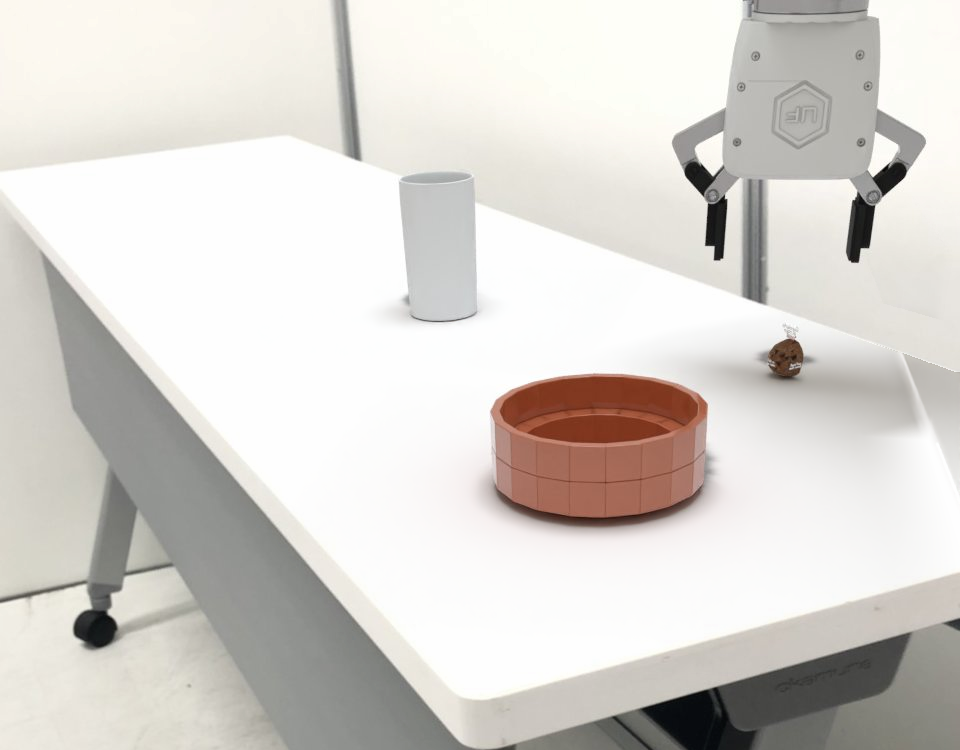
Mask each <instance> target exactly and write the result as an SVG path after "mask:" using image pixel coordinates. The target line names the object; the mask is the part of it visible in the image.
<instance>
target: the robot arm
mask: <svg viewBox="0 0 960 750" xmlns="http://www.w3.org/2000/svg"><path fill="white" fill-rule="evenodd" d="M742 2H748V6H749V5H751V6H752V11H751V17H744V18H742V19H741V21H740V24H739V27H738V31H737V35H736V39H735V44H734V48H733V53H732V59H731V65H730V71H729V79H728V86H727V95H726V104H725V107H724V108H721V109H719V110H718V111H716V112H714V113H713V114H710V115H709V116H707V117H705V118H703V119H701V120H699V121H697V122H695V123H694V124H692V125H690V126H688V127H686V128H685V129H682V130H680V131H679V132H676V134H674V136H673V137H672V140H671V145H672V148H673V150H674V151H673V152H674V153H675V155H676V158H677V160H678V162H679V164H680V166H681V168H682V171H683V173H684V177H685V178H686V179H687V180H688V181H689V182H690V184H691V185H692V186H693V187H694V189H696V190H697V192H698V193H699V194H700V195H701V196H702V198H704V201H705V202H706V203H707V208H706V209H707V210H706V225H705V237H704V239H705V240H704V247H714V248H713V261H715V262H717V261H718V262H719V261H720V262H721V260H724V256H725V243H726V231H727V216H728V215H727V214H728V198H726V194H727V193H728V192H729V191H730V190H731V188H732V187H733V186H734V185H735V184H736V183H737V182H738V180H739V179H744V180H745V179H746V180H773V181H774V180H780V181H782V180H787V181H792V180H793V181H797V180H798V181H833V180H834V181H835V180H836V181H838V180H849V181H850V183H851V184H852V185H853V187H854V188H855V189H856V196H855V197H854V199H852V201H851V206H850V215H849V223H848V232H847V238H846V248H845V255H846V257H847V260H848V262H850V263H851V264H859V263H860V260H861V259H860V258H861V251H862V249H869V250H870V247H871V243H872V236H873V235H872V233H873V227H874V220H875V213H876V212H875V211H876V205H878V204H879V203H880V202H881V201H882V199H883V198H884V197H885V196H886V195H887V194H888V193H889V192H890V191H892V190H893V189H895V187H897V185H898V184H900V183H901V182H902V181H903V180H904V179H905V178H906V176H907V175H908V171H910V170H911V168H912V167H913V165H914V163H915V162H916V161H917V159H918V157H919V155H920V154H921V153H922V151H923V150H924V148H925V147H926V145H927V139H926V137H925V136H924V135H923V134H922V133H921V132H919V131H918V130H916V129H914V128H913V127H911V126H909V125H907V124H906V123H904V122H902V121H900V120H899V119H897V118H895V117H893V116H891V115H890V114H888V113H886V112H884V111H883V110H881V109H879V108H878V105H879V104H878V103H879V91H880V90H879V89H880V76H881V31H880V30H881V27H880V18H879V17H876V16H872V15H868V13H869V6H870V0H742ZM720 133H722V146H721V147H722V148H721V150H722V151H721V152H722V154H721V158H722V165H721V166H720V168H718V169H717V170H716V172H715V173H714V174H713V175H712V173H711V172H710V171H709V170H708V169H707V168H706V167H705V166H704V164H703V163H702V162H701V160H700V158H699V157H698V154H697V151H696V148H697V146H698V145H699V144H702V143H703V142H705V141H707V140H709V139H711V138H712V137H714V136H717V135H719V134H720ZM876 133H877V134H879V135H881V136H882V137H884V138H886V139H888V140H889V141H891V142H893V143H894V144H896V145H897V150H896V151H895V152H896V153H895V154H894V156H893V158H892V159H891V161H890V162H888V163H887V164H886V165H885V166H884V167H882V169H880V170H879V171H878V172H877V173H876V174H875V175H874V176H873V175H872V174H871V173H870V171H869V170H868V169H869V168H870V164H871V162H872V158H873V151H874V146H875V136H876Z"/></svg>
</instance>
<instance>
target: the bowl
mask: <svg viewBox="0 0 960 750" xmlns="http://www.w3.org/2000/svg"><path fill="white" fill-rule="evenodd" d="M708 411H709V404H708V402H707V401H706V400H705V399H704V398H703V397H702V396H701V394H699V392H696V391H694V390H692V389H691V388H688V387H686V386H684V385H682V384H679V383H677V382H673V381H669V380H665V379H661V378H657V377H652V376H645V375H644V376H643V375H635V374H626V373H598V372H597V373H595V372H594V373H584V374H571V375H570V374H569V375H560V376H554V377H551V378H550V377H549V378H545V379H539V380H536V381H535V380H534V381H530V382H529V383H526V384H522V385H519V386H517V387H514V388H512V389H510V390H508V391H506V392H505V393H503V394H502V395H501V396H499V397H498V398H496V399H495V400H494V403H493V405H492V406H491V408H490V410H489V418H490V419H489V420H490V421H489V422H490V440H491V441H490V444H491V468H492V469H491V470H492V479H493V481H494V485H495V486H496V489H497V490H498V491H499V492H501V493H502V494H503V495H504V496H505V497H507V498H508V499H510V500H511V501H512V502H514V503H516V504H519V505H522V506H524V507H526V508H530V509H532V510H535V511H539V512H545V513H550V514H556V515H561V516H567V517H576V518H588V519H591V518H592V519H595V518H597V519H605V518H618V517H627V516H633V515H642V514H646V513H650V512H654V511H658V510H662V509H665V508H669V507H672V506H674V505H676V504H678V503H680V502H682V501H685V500H686V499H689V498H690V497H692V496H693V495H694V494H695V493H696V492H697V491H698V490H699V489H700V488H701V487H702V486H703V484H704V481H705V468H706V467H705V465H706V451H707V430H708V413H709V412H708Z"/></svg>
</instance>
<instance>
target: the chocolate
mask: <svg viewBox="0 0 960 750" xmlns="http://www.w3.org/2000/svg"><path fill="white" fill-rule="evenodd" d="M782 328H784V330H783V332H784V333H786V338H785V339H783V340H781V341H779V342H777V343H775V345H773V347H772V348H771V349H770V351H769V353H768V356H767V359H766V360H767V362H766V364H767V366H768V367H769V369H770V370H771V372H772V373H774V374H776V375H778V376H781V377H795V376H798V375H799V374H800V373H801V369H802V366H803V362H804V359H805V353H804V349H803V347H802V345H801V344H800V342H799V341H798V340H796V338H797V333H799V327H798V326H796V328H795V327H793V326H791V324H789V325H787V323H786V322H785V323H782Z"/></svg>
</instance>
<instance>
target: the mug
mask: <svg viewBox="0 0 960 750" xmlns="http://www.w3.org/2000/svg"><path fill="white" fill-rule="evenodd" d="M398 187H399V188H398V189H399V205H400V214H401V215H400V217H401V228H402V237H403V247H404V259H405V270H406V281H407V282H406V283H407V291H408V300H409V311H410V315H411V316H412V317H414V318H416V319H419V320H422V321H429V322H446V321H455V320H456V321H457V320H461V319H465V318H468V317H471V316H473V315H474V314H476V313H477V311H478V298H477V297H478V296H477V295H478V293H477V290H478V287H477V284H478V277H477V274H478V273H477V233H476V227H477V226H476V193H475V175H474V174H473V173H471V172H467V171H461V170H432V171H422V172H414V173H410V174H405V175H402V176H400V177H399V178H398Z"/></svg>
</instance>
